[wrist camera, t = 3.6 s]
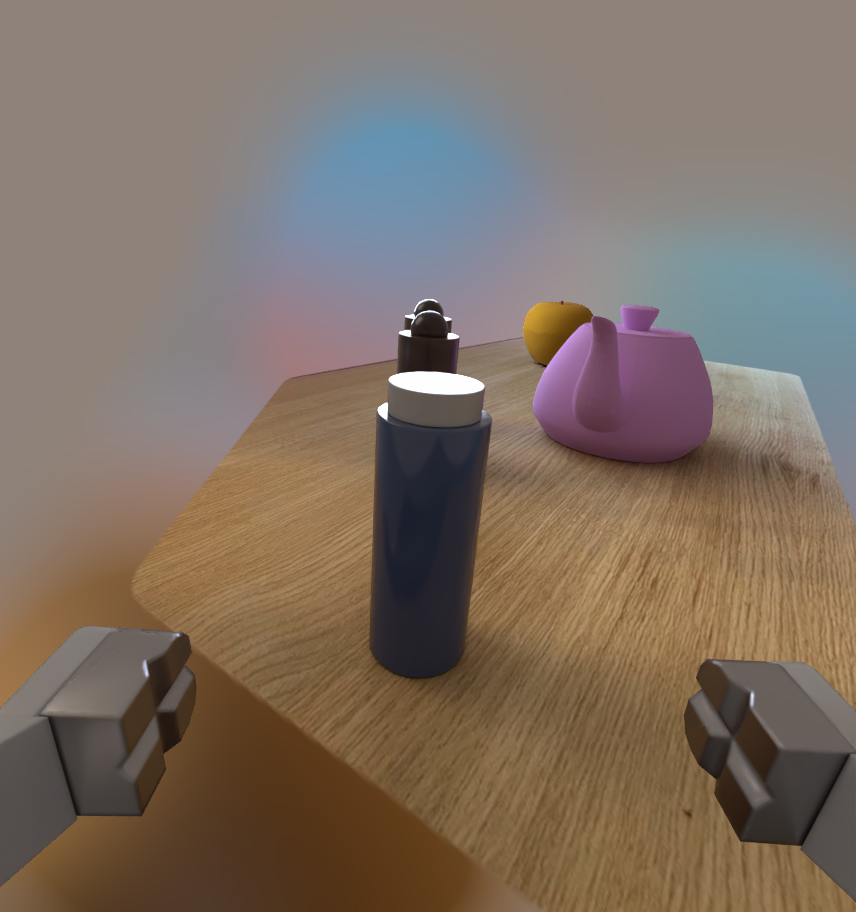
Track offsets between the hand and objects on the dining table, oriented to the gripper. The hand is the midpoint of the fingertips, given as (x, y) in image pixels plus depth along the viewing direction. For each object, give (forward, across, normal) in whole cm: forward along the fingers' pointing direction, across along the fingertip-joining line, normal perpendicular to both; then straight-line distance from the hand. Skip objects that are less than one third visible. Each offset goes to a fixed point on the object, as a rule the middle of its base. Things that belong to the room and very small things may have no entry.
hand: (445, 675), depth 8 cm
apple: (+86, -24, +10) cm, 90 cm away
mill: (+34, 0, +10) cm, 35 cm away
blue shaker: (+12, 0, +10) cm, 16 cm away
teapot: (+44, -20, +10) cm, 49 cm away
